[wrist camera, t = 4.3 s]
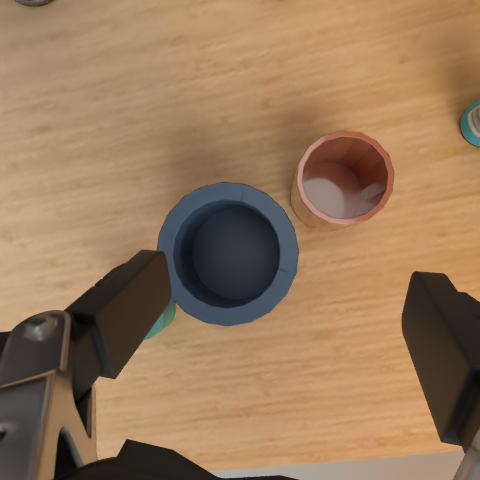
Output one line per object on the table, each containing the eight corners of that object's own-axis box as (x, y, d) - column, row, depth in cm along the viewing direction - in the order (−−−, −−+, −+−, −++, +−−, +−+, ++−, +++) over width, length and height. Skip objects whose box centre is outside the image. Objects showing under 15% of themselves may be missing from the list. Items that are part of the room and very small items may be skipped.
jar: (183, 296, 34) (147, 314, 24) (196, 198, 34) (166, 175, 24) (283, 310, 33) (289, 335, 23) (294, 208, 33) (306, 190, 23)
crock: (286, 226, 33) (291, 218, 25) (294, 157, 33) (302, 127, 25) (359, 235, 32) (388, 229, 24) (367, 163, 33) (398, 135, 25)
